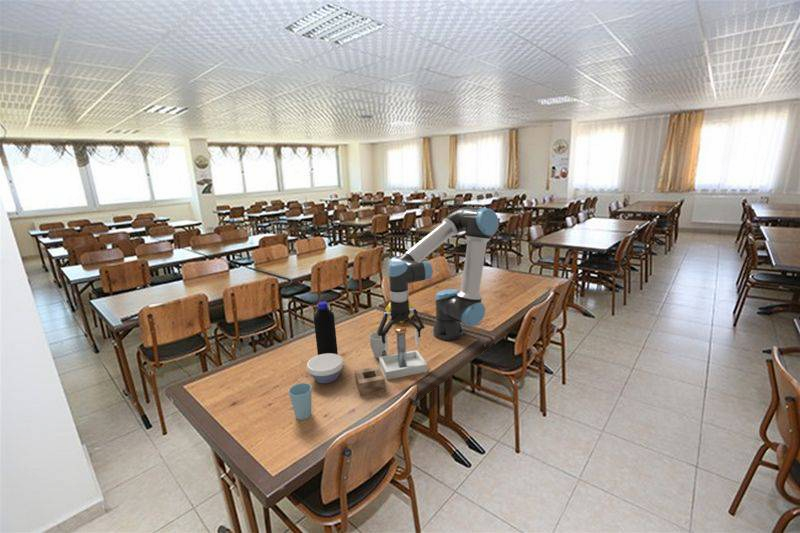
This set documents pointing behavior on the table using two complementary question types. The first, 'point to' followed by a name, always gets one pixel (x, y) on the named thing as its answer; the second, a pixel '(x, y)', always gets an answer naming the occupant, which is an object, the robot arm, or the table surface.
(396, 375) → the tray
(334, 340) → the bottle
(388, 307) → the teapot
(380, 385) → the socket block
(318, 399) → the table surface
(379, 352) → the cup
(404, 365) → the pin
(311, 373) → the bowl
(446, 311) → the robot arm
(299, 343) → the table surface
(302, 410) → the cup
